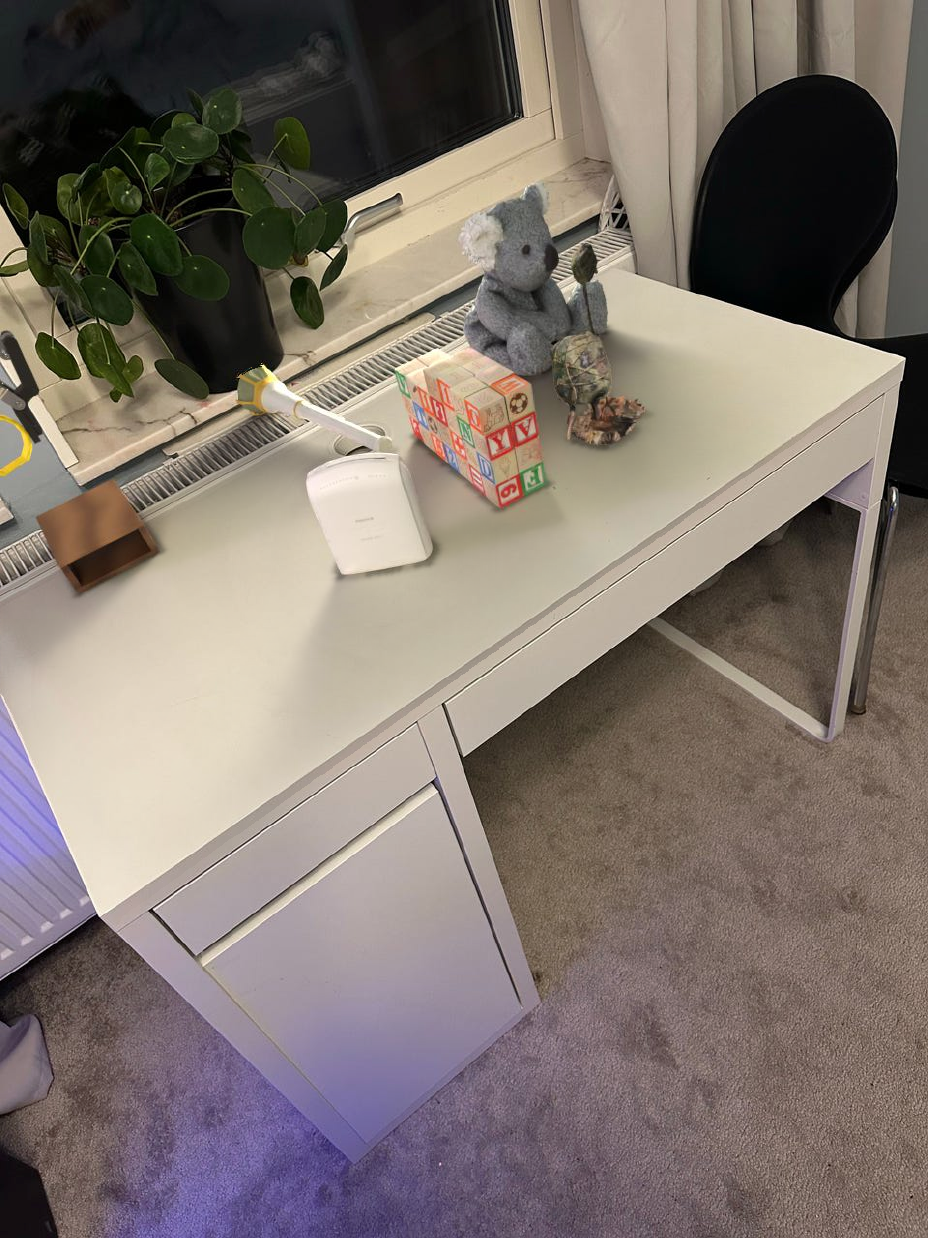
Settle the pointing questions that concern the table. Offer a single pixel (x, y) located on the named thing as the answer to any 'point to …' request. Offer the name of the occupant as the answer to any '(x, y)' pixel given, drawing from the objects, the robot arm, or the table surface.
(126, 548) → the shelf
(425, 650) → the table surface
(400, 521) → the photo printer
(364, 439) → the light stick
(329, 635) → the table surface
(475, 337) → the koala plush
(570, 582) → the table surface
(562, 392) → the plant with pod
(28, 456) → the watch
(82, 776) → the table surface
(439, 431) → the stack of blocks
